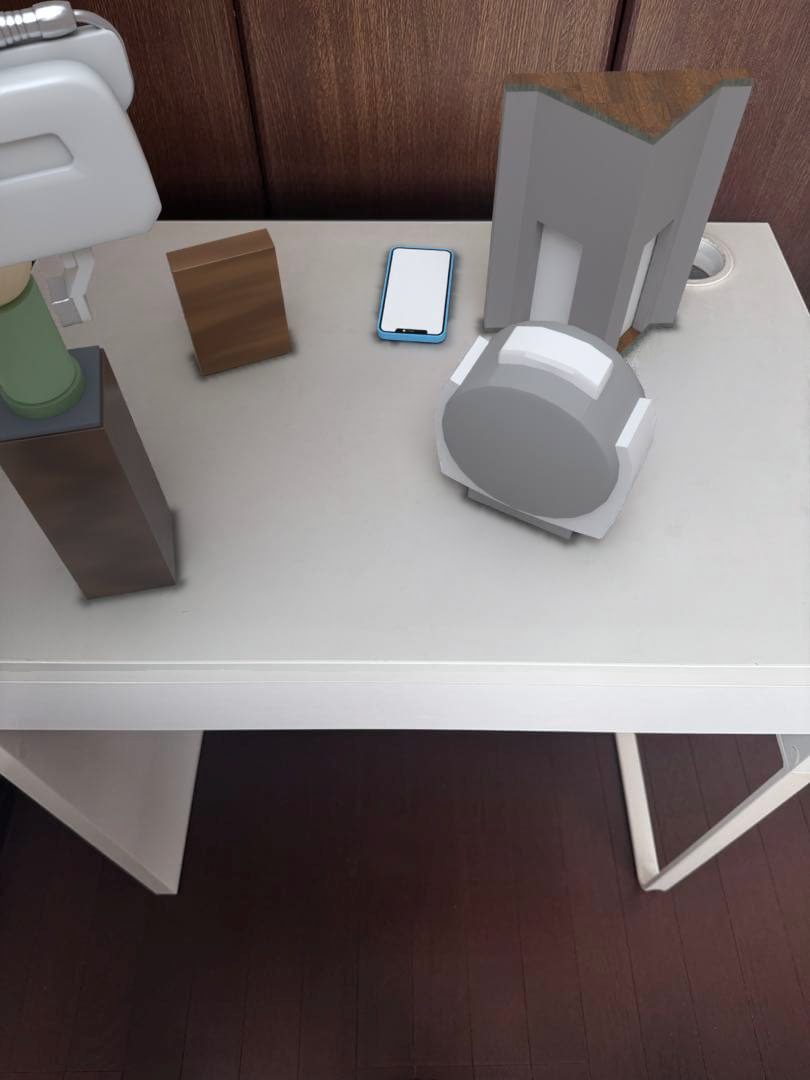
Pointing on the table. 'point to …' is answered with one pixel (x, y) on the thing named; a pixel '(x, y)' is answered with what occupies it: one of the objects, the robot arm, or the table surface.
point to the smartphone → (416, 294)
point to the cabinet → (606, 194)
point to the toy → (33, 351)
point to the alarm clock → (545, 427)
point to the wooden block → (232, 300)
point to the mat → (82, 415)
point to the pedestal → (97, 499)
